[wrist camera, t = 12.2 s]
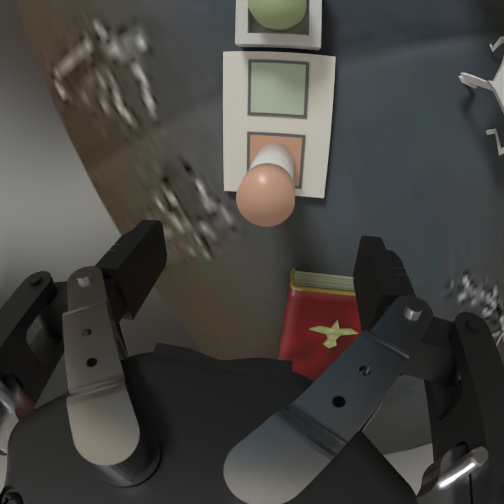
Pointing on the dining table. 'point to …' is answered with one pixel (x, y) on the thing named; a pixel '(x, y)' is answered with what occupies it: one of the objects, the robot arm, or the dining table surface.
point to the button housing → (296, 38)
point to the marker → (268, 186)
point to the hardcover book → (318, 321)
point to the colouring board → (278, 113)
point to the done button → (278, 13)
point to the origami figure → (490, 88)
